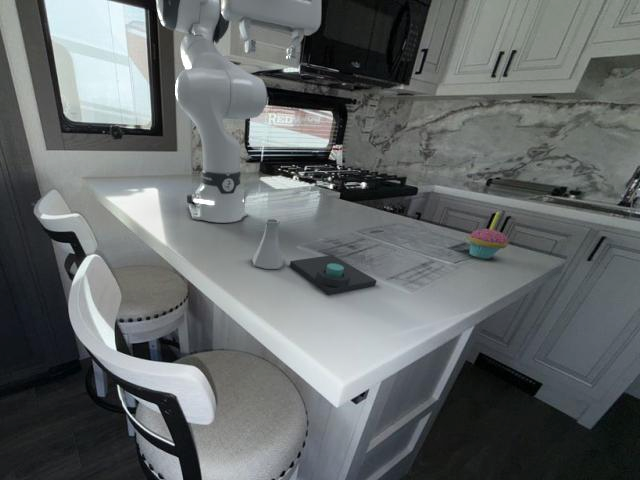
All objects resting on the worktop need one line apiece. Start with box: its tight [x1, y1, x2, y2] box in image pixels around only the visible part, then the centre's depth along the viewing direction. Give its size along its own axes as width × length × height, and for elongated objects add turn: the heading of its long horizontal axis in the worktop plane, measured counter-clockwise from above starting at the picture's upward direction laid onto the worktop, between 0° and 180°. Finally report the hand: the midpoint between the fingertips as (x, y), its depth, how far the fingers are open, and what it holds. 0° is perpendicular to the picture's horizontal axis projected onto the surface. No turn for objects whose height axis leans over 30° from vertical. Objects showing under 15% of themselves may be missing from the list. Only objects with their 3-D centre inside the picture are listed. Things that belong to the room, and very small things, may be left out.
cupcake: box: [467, 208, 510, 260], centre depth 79 cm, size 9×8×12 cm
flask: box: [252, 218, 285, 270], centre depth 67 cm, size 7×7×10 cm
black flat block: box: [289, 254, 378, 296], centre depth 65 cm, size 14×12×3 cm
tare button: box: [326, 263, 344, 278], centre depth 60 cm, size 3×3×2 cm
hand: (271, 55), depth 61 cm, fingers open, 8 cm apart
